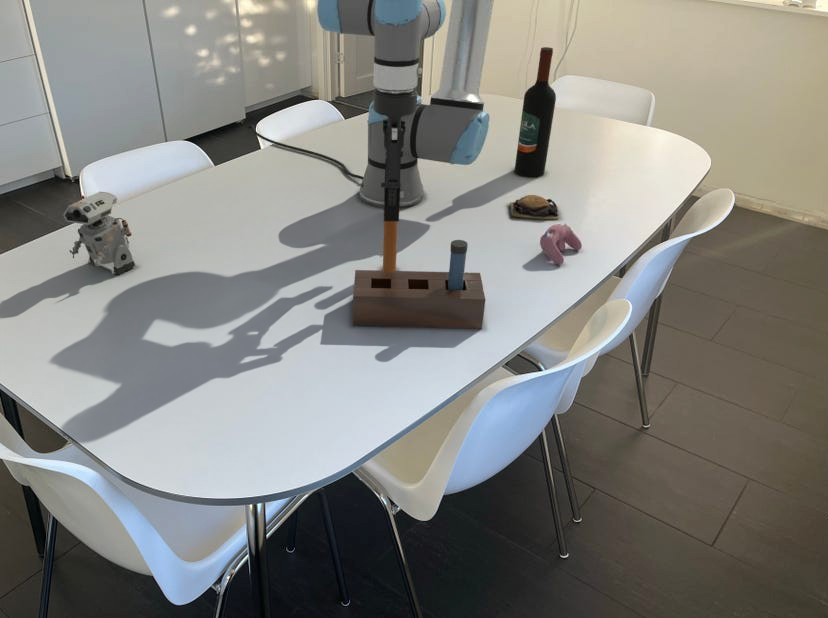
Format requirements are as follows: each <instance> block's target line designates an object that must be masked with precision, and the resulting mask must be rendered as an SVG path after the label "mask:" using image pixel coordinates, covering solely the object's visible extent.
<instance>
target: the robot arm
mask: <svg viewBox="0 0 828 618" xmlns="http://www.w3.org/2000/svg"><path fill="white" fill-rule="evenodd" d="M494 2H495V0H451V6H450V13H449V20H448V27H447V33H446V40H445V46H444V47H445V48H444V54H443V60H442V66H441V67H442V68H441V75H440V81H439V88H438V89H437V91H435V92H434V93H433V94H432V95H430V99H429V101H430V102H429V104H424V103H422V102H423V101H422V98H421V96H420V95H419V94H418V90H417V86H418V83H419V82H418V81H419V76H418V75H421V74H422V73H423V68H422V67H419V62H420V47H421V42H422V41H425V40H426V39H428V38H431V37H433V36H434V35H435V34H436V32H438V31H439V30H440V29H441V28H442V27H443V25H444V22H445V20H446V16H447V9H446V4H445V1H444V0H317V3H316V4H317V5H316V6H317V7H316V13H317V20H318V23H319V25H320V27H321V28H322V30H324V31H326V32H330V33H337V34H340V35H343V34H344V35H356V36H368V37H374V57H373V77H372V78H373V79H372V81H373V82H372V83H373V86H374V87H375V88H374V90H373V94H372V96H373V97H372V98H373V99H372V101H371V102H370V104H369V108H368V115H367V116H368V117H367V165H366V168H365V171H364V175H363V176H362V175H359V174H355V173H352V172H351V171H349V170H348V168H347V166H346V165H345V164H344V163H342V162H341V161H339V160H337V159H335V158H332V157H330V156H328V155H325V154H322V153H319V152H315V151H312V150H309V149H304V148H301V147H296V146H293V145H289V144H285V143H283V142H282V143H281V142H278V141H275V140H272V139H270V138H268V137H266V136H264V135H262V134H260V133H258V131H256V129H255V126H254V125H253V124H249V125H248V129H251V130H252V132H253V134H255V135H256V136H257V137H258V138H259V139H262V140H264V141H265V142H269V143H271V144H274V145H277V146H280V147H283V148H287V149H289V150H290V149H291V150H294V151H299V152H303V153H306V154H309V155H314V156H317V157H320V158H323V159H326V160H328V161H331V162H333V163H335V164H337V165H339V166H340V167H341V168H342V169H343V171H344V172H345V173H346V174H347V175H348V176H349V177H352V178H355V179H356V178H357V179H359V180H361V183H360V186H359V197H360V198H359V199H361V200H362V202H364V203H366V204H368V205H370V206H373V207H378V208H383V222H384V221H398V222H399V221H400V209H402V208H409V207H412V206H414V205H417V204H420V202H422V200H424V193H425V192H424V191H425V190H424V184H423V183H422V179H421V174H420V170H419V166H418V165H419V164H418V163H419V162H418V160H419V159H420V160H427V161H433V162H439V163H445V164H449V165H452V166H453V165H463V166H469V165H471V164H473V163H474V162H475V161H476V160H477V159H478V158H479V156H480V154H481V152H482V150H483V148H484V144H485V142H486V139H487V136H488V132H489V127H490V124H489V123H490V118H491V117H490V114H489V112H487V111H486V110H484V106H485V101H484V100H483V99H482V97H481V95H480V88H481V87H480V86H481V80H482V75H483V69H484V63H485V57H486V50H487V43H488V38H489V32H490V26H491V22H492V21H491V20H492V15H493V8H494Z"/></svg>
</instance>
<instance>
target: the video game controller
mask: <svg viewBox="0 0 828 618" xmlns="http://www.w3.org/2000/svg"><path fill="white" fill-rule="evenodd" d="M539 245H540V248H541V250H542V251H543V252H544V253H545V254H546V256H547V257H548V258H549V260H551V262H553V264H556V265H559V266H561V265H563V264H564V261H565V260H564V259H565V257H564V256H563V254H562V253H561V252H563V251H564V250H565V248H566V245H568V246H569V247H570V248H571V249H573V250H575V251H580V250H581V249H582V247H583V244H582V242H581V240H580V238H579V237H578V236H577V235H576V234H575V232H574V230H572V228H571V226H569V225H568V224H567V223H558V224H554V225H551V226H549V228H547V229H546V231H545V232H544V234H542V235H541V236H540V239H539Z"/></svg>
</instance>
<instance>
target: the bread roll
mask: <svg viewBox="0 0 828 618" xmlns="http://www.w3.org/2000/svg"><path fill="white" fill-rule="evenodd" d="M509 207H510V213H511V216H512V217H515V218H524V219H535V220H536V219H537V220H543V221H545V220H559V214H558V212H559V210H558V206H557V204H556V202H555V201H553V200H552V199H551V198H547V199H546V198H544V197H543V196H540V195H537V194H528V195H525V196H522V197H520V198H518V199H516V200H515V201H511V202H510V203H509Z"/></svg>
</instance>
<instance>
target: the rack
mask: <svg viewBox="0 0 828 618" xmlns="http://www.w3.org/2000/svg"><path fill="white" fill-rule="evenodd" d="M448 279H449V271H423V270H422V271H421V270H420V271H419V270H418V271H417V270H416V271H415V270H396V271H383V270H378V269H377V270H375V269H374V270H371V269H370V270H369V269H355V271H354V282H353V292H352V326H353V327H382V328H383V327H386V328H421V329H422V328H423V329H424V328H426V329H427V328H428V329H433V328H434V329H460V330H461V329H466V330H483V324H484V316H485V306H486V295H485V290H484V284H483V280H482V275H481V272H465V271H464V280H463V290H448Z"/></svg>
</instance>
